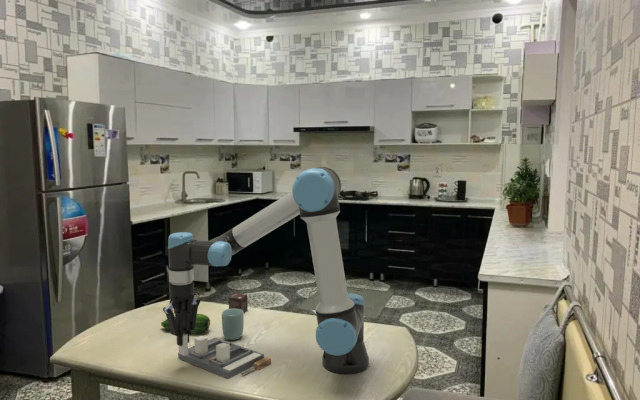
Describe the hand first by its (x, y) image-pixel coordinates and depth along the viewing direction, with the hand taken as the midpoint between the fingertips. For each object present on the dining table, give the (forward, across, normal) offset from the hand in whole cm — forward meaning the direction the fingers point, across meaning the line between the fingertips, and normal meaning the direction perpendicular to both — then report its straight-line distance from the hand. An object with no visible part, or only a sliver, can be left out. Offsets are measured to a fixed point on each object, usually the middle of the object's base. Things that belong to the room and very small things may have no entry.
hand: (183, 353), depth 155 cm
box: (+5, -47, -24) cm, 53 cm away
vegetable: (+5, -20, -24) cm, 32 cm away
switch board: (+4, -11, +5) cm, 13 cm away
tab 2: (+2, -8, +10) cm, 13 cm away
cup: (+5, -26, -5) cm, 27 cm away
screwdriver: (+5, -13, +20) cm, 24 cm away
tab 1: (+2, -7, 0) cm, 7 cm away
